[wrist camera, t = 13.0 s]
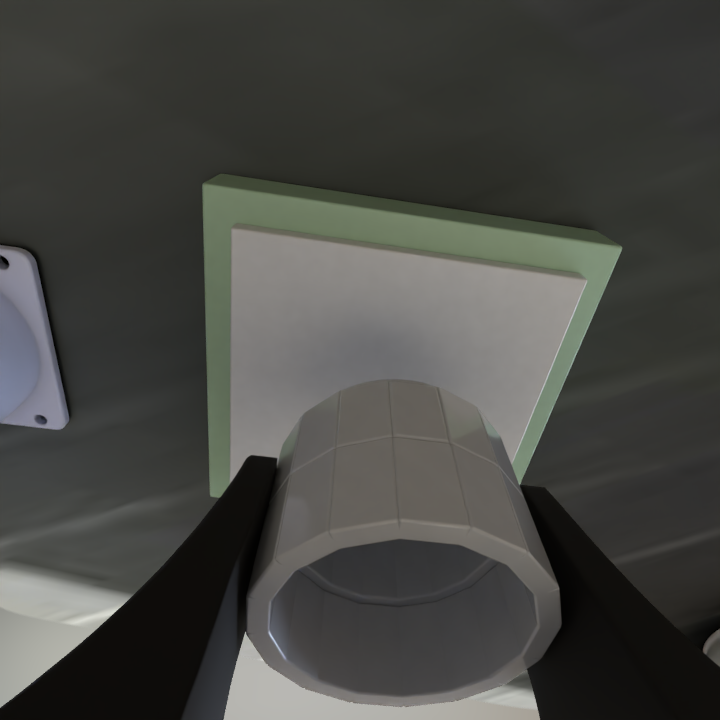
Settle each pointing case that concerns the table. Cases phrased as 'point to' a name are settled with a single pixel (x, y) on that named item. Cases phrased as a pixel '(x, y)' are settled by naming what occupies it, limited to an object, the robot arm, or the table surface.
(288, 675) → the grey cup
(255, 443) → the scale
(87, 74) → the table surface
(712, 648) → the trinket box
